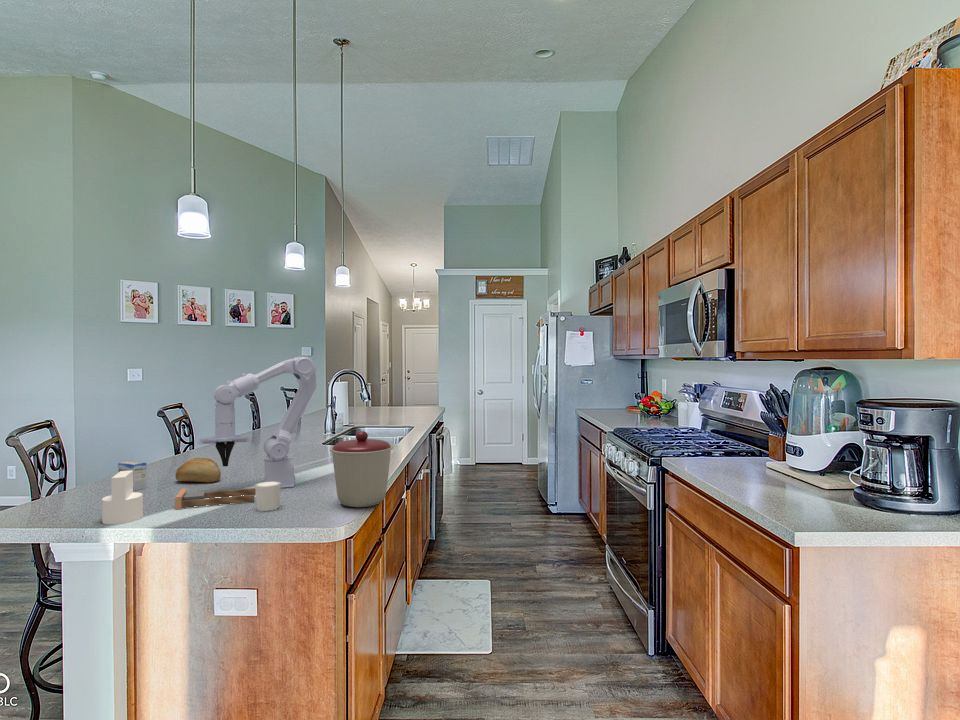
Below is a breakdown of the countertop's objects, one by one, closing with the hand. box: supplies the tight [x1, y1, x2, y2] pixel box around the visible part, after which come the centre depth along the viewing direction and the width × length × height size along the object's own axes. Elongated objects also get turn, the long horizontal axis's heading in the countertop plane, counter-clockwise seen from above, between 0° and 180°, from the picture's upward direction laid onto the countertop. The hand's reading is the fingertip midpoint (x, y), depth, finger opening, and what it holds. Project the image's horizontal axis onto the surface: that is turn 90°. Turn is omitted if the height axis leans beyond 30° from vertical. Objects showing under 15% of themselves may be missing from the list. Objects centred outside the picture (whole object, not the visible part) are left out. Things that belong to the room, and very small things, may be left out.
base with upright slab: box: [101, 470, 144, 525], centre depth 143 cm, size 9×9×12 cm
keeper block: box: [184, 490, 206, 501], centre depth 158 cm, size 5×6×3 cm
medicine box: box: [117, 460, 148, 492], centre depth 176 cm, size 8×4×9 cm, turn 68°
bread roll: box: [175, 457, 222, 483], centre depth 186 cm, size 10×15×8 cm, turn 90°
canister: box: [329, 430, 394, 508], centre depth 158 cm, size 18×18×21 cm
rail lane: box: [174, 487, 256, 510], centre depth 160 cm, size 20×11×4 cm, turn 110°
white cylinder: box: [254, 481, 281, 512], centre depth 153 cm, size 7×7×7 cm
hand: (225, 465), depth 171 cm, fingers closed
